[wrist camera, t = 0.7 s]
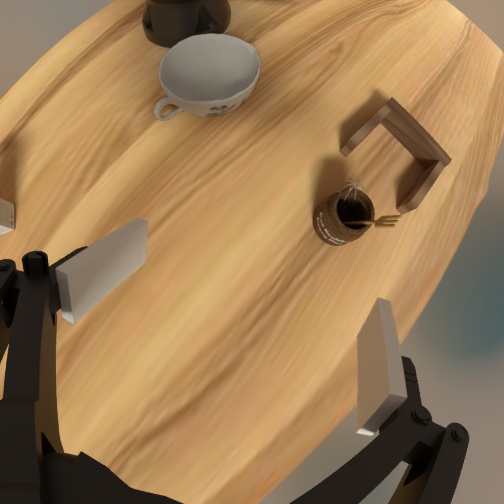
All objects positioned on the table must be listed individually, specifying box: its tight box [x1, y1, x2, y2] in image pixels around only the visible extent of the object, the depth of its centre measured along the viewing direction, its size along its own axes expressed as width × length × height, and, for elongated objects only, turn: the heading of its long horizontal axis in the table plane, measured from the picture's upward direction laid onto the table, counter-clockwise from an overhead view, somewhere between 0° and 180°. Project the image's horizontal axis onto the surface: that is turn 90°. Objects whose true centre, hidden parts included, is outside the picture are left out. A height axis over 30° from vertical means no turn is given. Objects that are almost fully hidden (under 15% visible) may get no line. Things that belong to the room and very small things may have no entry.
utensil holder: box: [313, 179, 402, 246], centre depth 33 cm, size 6×6×12 cm
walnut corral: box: [340, 98, 452, 215], centre depth 38 cm, size 11×12×5 cm
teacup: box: [154, 33, 261, 121], centre depth 36 cm, size 15×12×8 cm
